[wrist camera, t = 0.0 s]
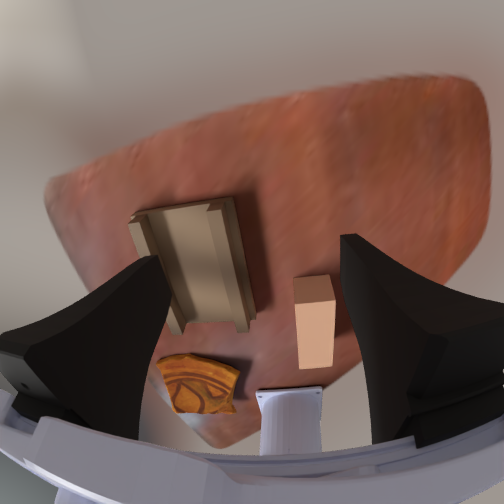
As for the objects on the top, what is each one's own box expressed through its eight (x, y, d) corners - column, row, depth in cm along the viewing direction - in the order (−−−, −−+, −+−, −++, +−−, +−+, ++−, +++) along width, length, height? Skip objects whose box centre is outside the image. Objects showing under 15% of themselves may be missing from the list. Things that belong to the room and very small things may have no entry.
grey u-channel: (256, 313, 26) (254, 331, 24) (174, 317, 27) (167, 334, 25) (233, 196, 20) (228, 208, 18) (134, 212, 21) (122, 225, 19)
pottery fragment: (172, 415, 33) (142, 384, 26) (177, 385, 36) (150, 349, 30) (248, 419, 32) (236, 390, 26) (249, 387, 36) (238, 350, 29)
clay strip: (327, 338, 27) (332, 366, 24) (298, 341, 28) (299, 369, 25) (328, 273, 23) (335, 300, 20) (292, 276, 24) (294, 304, 21)
